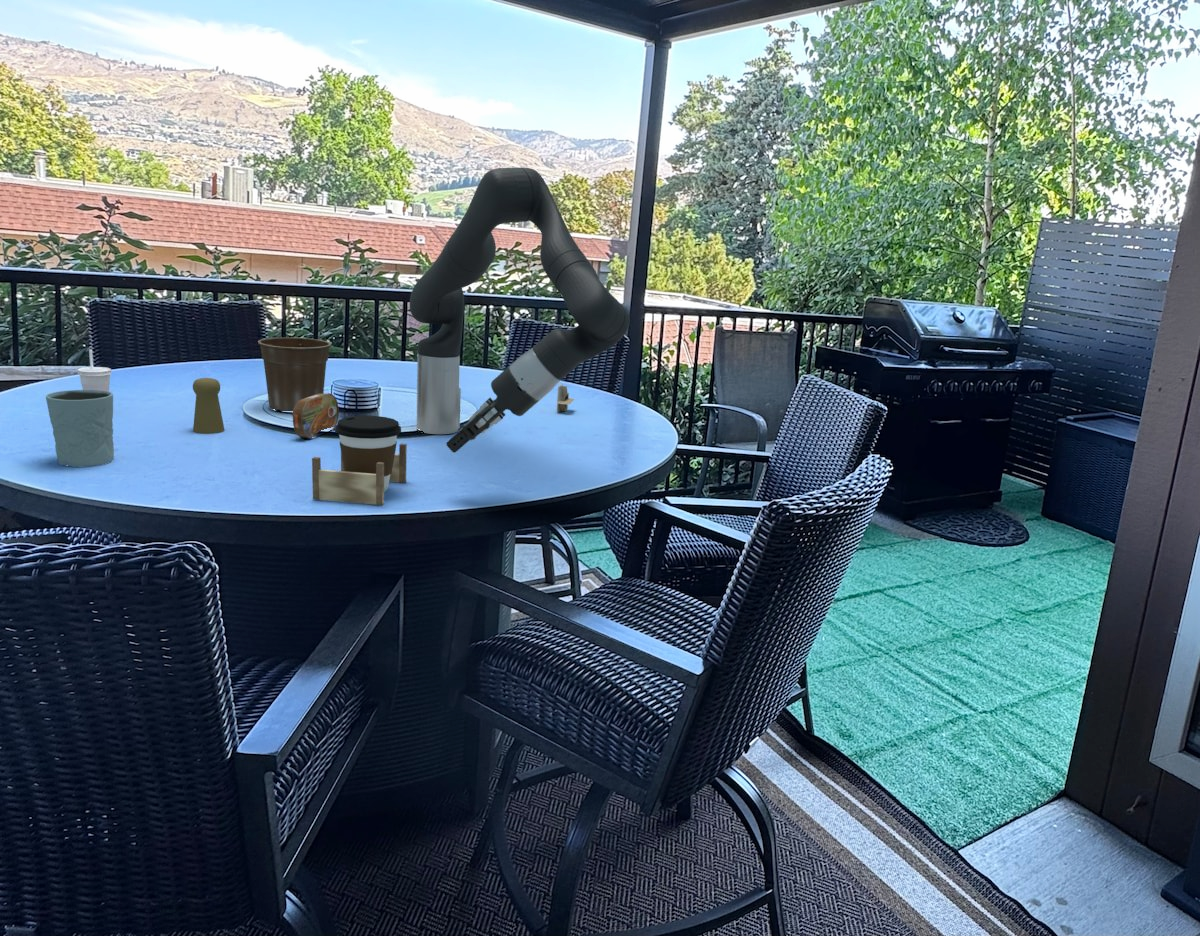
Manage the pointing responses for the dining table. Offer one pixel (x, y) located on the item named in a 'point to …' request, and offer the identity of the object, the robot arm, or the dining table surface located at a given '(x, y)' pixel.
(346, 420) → the coffee cup
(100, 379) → the smoothie
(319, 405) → the tin
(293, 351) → the plant pot
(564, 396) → the architectural model
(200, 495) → the dining table surface
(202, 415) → the cork
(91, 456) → the green embossed planter
